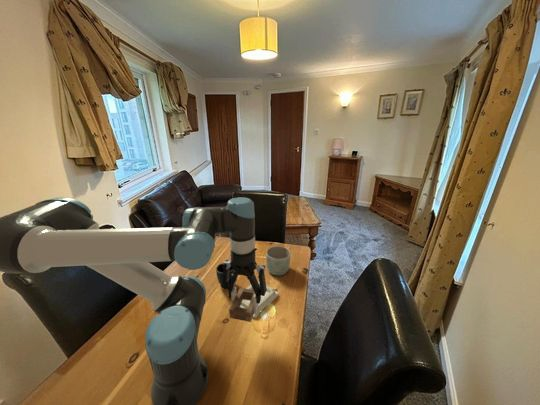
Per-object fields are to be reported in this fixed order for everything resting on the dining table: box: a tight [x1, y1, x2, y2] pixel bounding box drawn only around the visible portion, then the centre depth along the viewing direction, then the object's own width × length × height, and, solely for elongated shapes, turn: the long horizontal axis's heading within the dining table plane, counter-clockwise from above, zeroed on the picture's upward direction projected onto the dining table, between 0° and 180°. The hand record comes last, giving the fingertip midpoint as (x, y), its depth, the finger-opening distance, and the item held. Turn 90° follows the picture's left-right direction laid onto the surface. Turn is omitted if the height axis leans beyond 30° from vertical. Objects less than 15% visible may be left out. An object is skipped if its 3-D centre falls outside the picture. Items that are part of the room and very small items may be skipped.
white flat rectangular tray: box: [240, 279, 279, 319], centre depth 93 cm, size 16×13×3 cm
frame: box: [228, 287, 255, 323], centre depth 72 cm, size 10×7×4 cm
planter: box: [265, 245, 292, 276], centre depth 110 cm, size 12×12×11 cm
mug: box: [215, 262, 238, 289], centre depth 99 cm, size 8×12×10 cm
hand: (245, 307), depth 73 cm, fingers closed on frame, 7 cm apart
